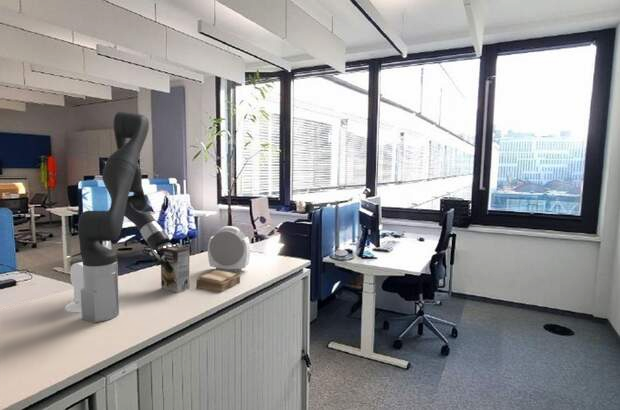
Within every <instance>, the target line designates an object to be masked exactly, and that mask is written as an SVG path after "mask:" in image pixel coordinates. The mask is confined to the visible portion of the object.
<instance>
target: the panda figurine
mask: <svg viewBox="0 0 620 410" xmlns="http://www.w3.org/2000/svg"><path fill="white" fill-rule="evenodd" d="M69 265H70V266H71V267H70V273H69V275H70V277H69V278H70V281H71V284H72V286H73V301H71V302H69V303H68V304H66V306H65V307H64V310H65V311H66V312H67V313H82V308H81V289H83V288H84V280H83V260H82V258H78V259H74V260H73V259H72V260H70V262H69Z"/></svg>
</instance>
